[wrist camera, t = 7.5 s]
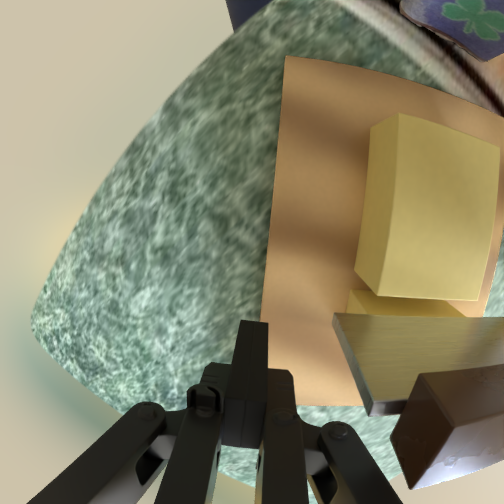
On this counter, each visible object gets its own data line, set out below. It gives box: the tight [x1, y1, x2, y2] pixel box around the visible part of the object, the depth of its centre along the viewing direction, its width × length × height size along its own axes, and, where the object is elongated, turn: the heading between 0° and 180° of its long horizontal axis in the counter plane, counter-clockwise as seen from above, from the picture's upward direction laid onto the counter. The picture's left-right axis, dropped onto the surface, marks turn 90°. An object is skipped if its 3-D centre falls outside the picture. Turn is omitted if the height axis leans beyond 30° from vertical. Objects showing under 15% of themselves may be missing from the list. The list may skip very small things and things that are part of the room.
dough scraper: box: [332, 312, 504, 490], centre depth 8 cm, size 2×12×8 cm, turn 85°
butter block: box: [354, 113, 500, 301], centre depth 15 cm, size 9×7×4 cm
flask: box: [399, 0, 504, 62], centre depth 10 cm, size 9×3×11 cm, turn 75°
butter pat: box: [346, 289, 466, 317], centre depth 17 cm, size 3×7×4 cm, turn 85°
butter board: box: [259, 55, 504, 406], centre depth 19 cm, size 24×18×2 cm
